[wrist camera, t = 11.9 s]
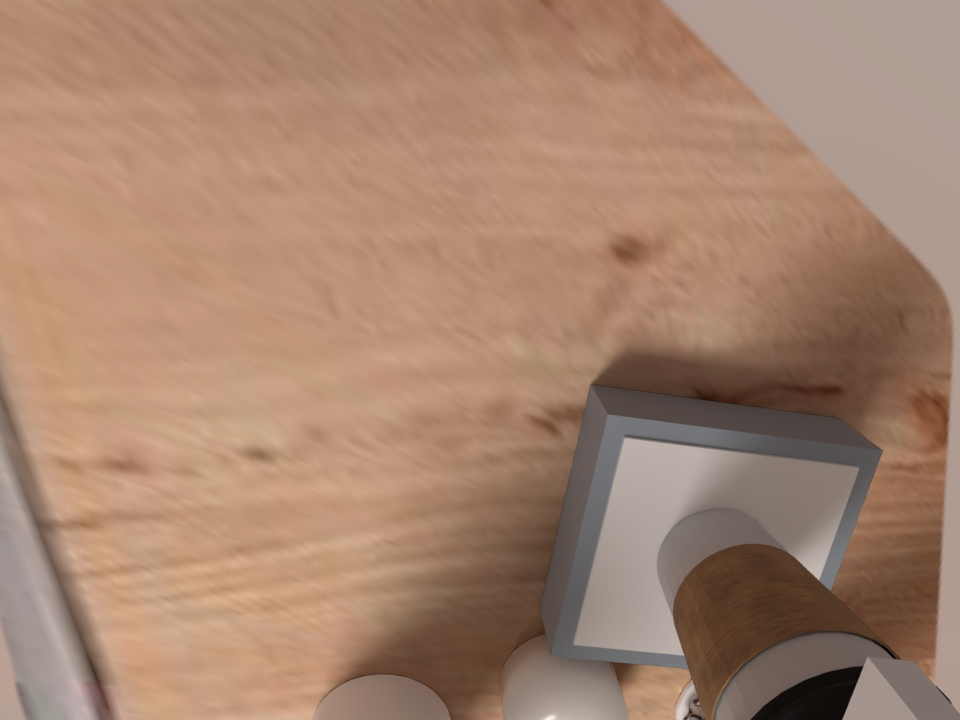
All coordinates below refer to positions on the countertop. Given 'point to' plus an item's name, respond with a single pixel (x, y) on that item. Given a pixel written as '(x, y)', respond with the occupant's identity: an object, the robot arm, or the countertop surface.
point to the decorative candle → (688, 704)
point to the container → (382, 700)
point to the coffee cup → (759, 624)
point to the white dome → (558, 686)
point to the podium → (687, 508)
